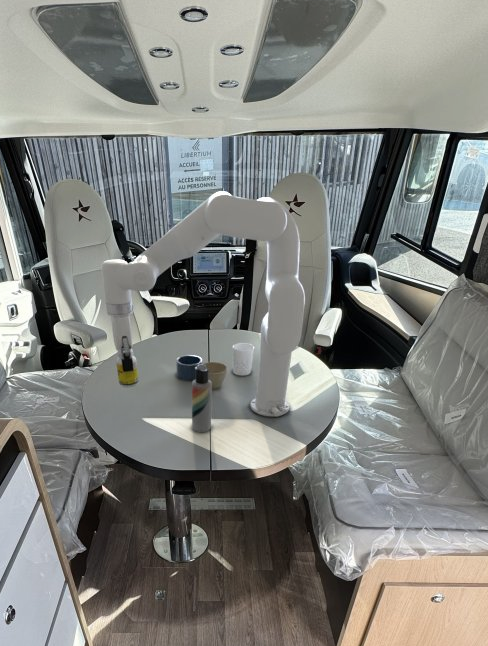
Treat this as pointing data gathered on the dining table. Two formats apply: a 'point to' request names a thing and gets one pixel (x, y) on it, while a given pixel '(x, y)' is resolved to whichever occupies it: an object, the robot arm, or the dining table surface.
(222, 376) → the flower pot
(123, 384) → the pill bottle
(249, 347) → the white cup
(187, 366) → the canister
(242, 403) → the dining table surface
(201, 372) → the lotion bottle
